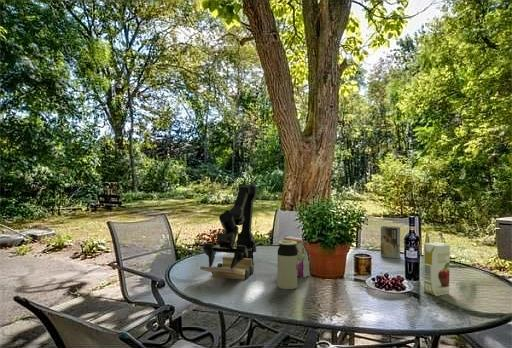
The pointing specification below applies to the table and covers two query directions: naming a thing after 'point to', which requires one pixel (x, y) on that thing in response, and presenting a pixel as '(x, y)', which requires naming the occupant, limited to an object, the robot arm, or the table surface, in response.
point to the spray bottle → (300, 257)
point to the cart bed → (241, 266)
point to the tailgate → (222, 270)
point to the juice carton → (436, 268)
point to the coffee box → (390, 242)
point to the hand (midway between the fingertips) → (220, 268)
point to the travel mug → (287, 265)
